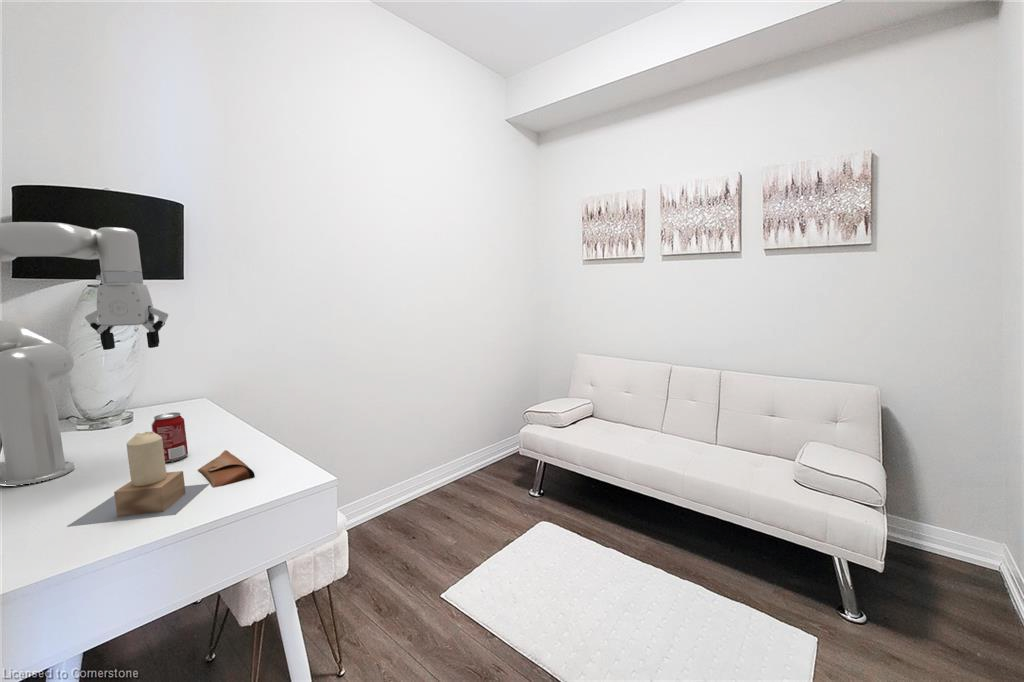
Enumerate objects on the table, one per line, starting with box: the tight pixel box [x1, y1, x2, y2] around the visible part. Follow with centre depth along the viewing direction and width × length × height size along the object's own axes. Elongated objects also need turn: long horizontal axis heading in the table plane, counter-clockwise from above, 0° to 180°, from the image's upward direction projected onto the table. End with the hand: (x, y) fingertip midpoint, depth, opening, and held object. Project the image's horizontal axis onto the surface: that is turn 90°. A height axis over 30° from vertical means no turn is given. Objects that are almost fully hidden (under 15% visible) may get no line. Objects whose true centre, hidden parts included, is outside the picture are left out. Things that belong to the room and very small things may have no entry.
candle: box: [126, 431, 167, 486], centre depth 88 cm, size 6×6×10 cm
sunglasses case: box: [197, 449, 256, 488], centre depth 104 cm, size 18×7×7 cm, turn 49°
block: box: [113, 470, 186, 516], centre depth 89 cm, size 8×8×5 cm
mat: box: [66, 483, 210, 527], centre depth 90 cm, size 18×14×1 cm
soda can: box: [151, 411, 189, 464], centre depth 114 cm, size 7×7×12 cm
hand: (131, 348), depth 109 cm, fingers open, 9 cm apart
